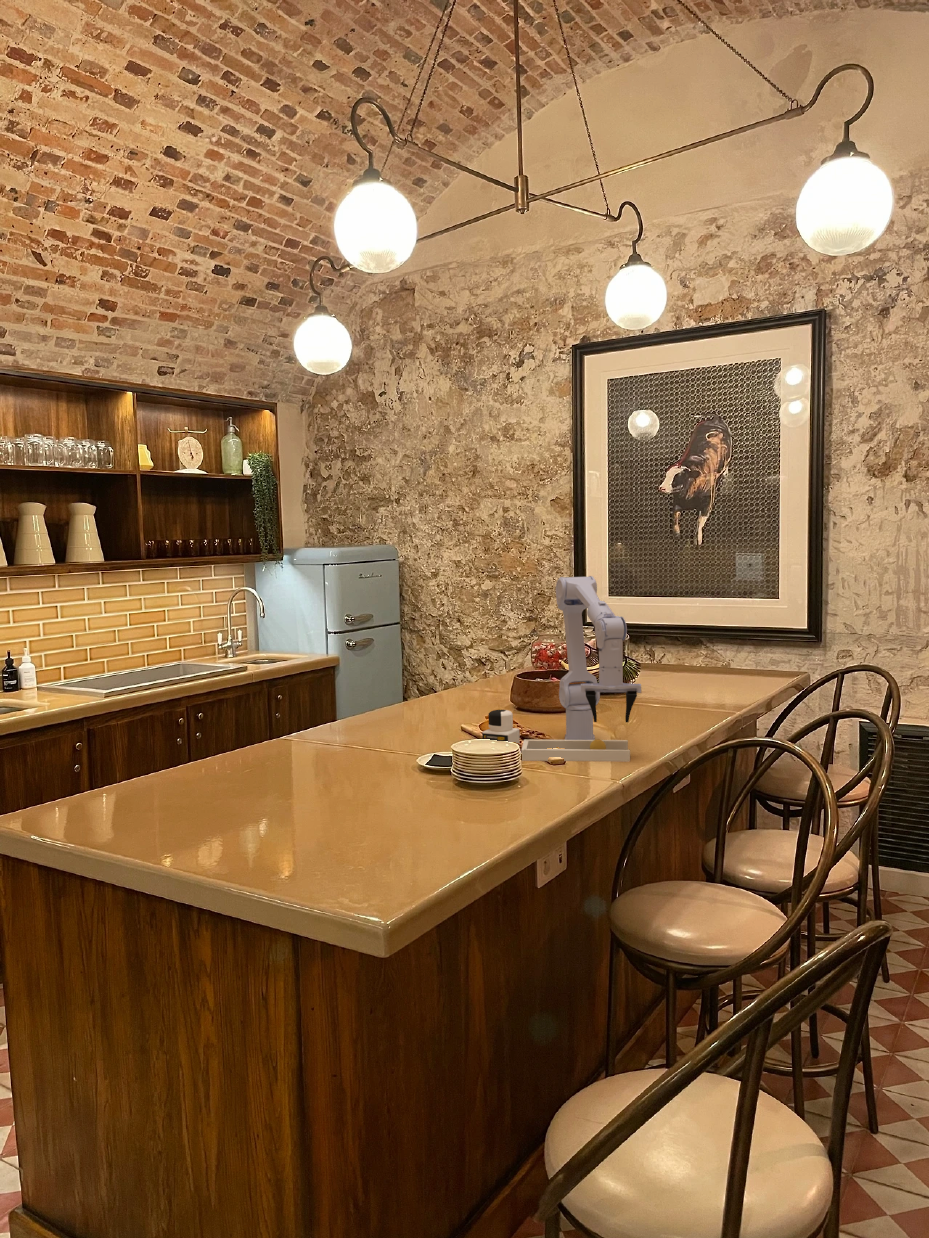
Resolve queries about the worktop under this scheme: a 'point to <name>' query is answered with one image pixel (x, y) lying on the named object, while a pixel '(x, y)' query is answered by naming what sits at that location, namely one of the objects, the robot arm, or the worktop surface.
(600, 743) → the ball
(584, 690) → the robot arm
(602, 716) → the worktop surface
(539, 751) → the lane
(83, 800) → the worktop surface
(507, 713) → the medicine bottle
